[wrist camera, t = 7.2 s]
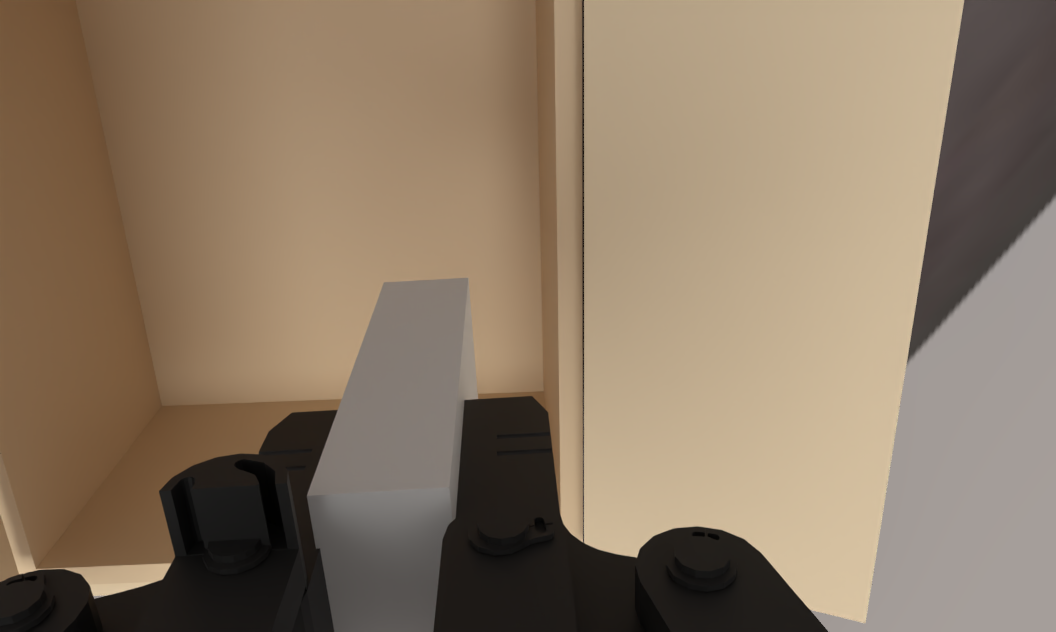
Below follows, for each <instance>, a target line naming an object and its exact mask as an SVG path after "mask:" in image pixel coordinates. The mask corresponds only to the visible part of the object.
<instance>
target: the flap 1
mask: <svg viewBox="0 0 1056 632" xmlns="http://www.w3.org/2000/svg"><path fill="white" fill-rule="evenodd" d="M16 575H19V572H18V569H17V566H16V563H15V559H14V556H13V553H12V550H11V546H10V543H9V540H8V537H7V534H6V530H5V527H4V524H3V521H2V518H1V514H0V582H2V581H4V580H6V579H7V578H10V577H13V576H16Z"/></svg>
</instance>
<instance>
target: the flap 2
mask: <svg viewBox="0 0 1056 632" xmlns="http://www.w3.org/2000/svg"><path fill="white" fill-rule="evenodd" d="M963 4H964V0H584V543H585V544H587V545H589V546H591V547H594V548H596V549H598V550H602V551H606V552H610V553H614V554H619V555H625V556H631V557H637V556H638V553H639V550H640V548H641V547H642V546H643V545H644V544H645V543H646V542H647V541H649V540H650V539H651V538H652V537H653V536H655V535H657V534H660V533H663V532H665V531H668V530H671V529H673V528H683V527H694V526H699V527H706V528H712V529H719V530H723V531H726V532H728V533H731V534H733V535H736V536H738V537H740V538H743V539H745V540H746V541H747V542H748V543H750V544H751V545H752V546H753V547H755V548H756V549H757V550H758V551H760V552H761V553H762V554H763V556H764V557H765V558H766V559H767V560H768V561H769V563H770V564H771V565H772V566H773V567H774V568H775V570H776V571H777V572H778V573H779V574H780V576H781V577H782V578H783V579H784V580H785V581H786V583H787V584H788V585H789V586H790V587H791V588H792V590H793V591H794V592H795V593H796V594H797V595H798V597H799V598H800V599H801V600H802V601H803V603H804V604H805V605H806V606H807V607H808V608H809V610H813V611H818V612H821V613H825V614H829V615H833V616H838V617H842V618H846V619H850V620H854V621H858V622H862V623H865V622H866V616H867V609H868V603H869V597H870V591H871V585H872V578H873V572H874V565H875V559H876V553H877V546H878V540H879V533H880V527H881V521H882V515H883V509H884V502H885V496H886V490H887V483H888V477H889V471H890V465H891V458H892V452H893V446H894V439H895V433H896V427H897V421H898V414H899V407H900V402H901V395H902V389H903V382H904V376H905V370H906V364H907V358H908V351H909V345H910V339H911V332H912V326H913V320H914V313H915V307H916V301H917V294H918V288H919V282H920V276H921V269H922V263H923V257H924V250H925V244H926V238H927V231H928V225H929V219H930V212H931V206H932V200H933V194H934V187H935V181H936V175H937V168H938V162H939V156H940V149H941V143H942V137H943V130H944V124H945V118H946V112H947V105H948V99H949V93H950V86H951V80H952V74H953V67H954V61H955V55H956V48H957V42H958V36H959V30H960V23H961V17H962V11H963Z"/></svg>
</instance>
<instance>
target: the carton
mask: <svg viewBox="0 0 1056 632" xmlns="http://www.w3.org/2000/svg"><path fill="white" fill-rule="evenodd" d="M453 278H469V291H470V303H471V316H472V329H473V341H474V354H475V367H476V379H477V392H478V399H488V398H505V397H522V396H533V397H534V398H535V399H536V400H537V401H538V402H539V403H540V404H541V405H542V406H543V407H544V408H545V410H546V411H547V412H548V415H549V424H550V432H551V441H552V450H553V458H554V466H555V475H556V483H557V492H558V501H559V509H560V515H561V518H562V521H563V524H564V525H565V527H566V528H567V529H568V531H569V532H570V533H571V534H572V535H573V536H575V537H576V538H577V539H579V540H580V541H581V542H583V352H582V0H0V514H1V518H2V521H3V524H4V527H5V530H6V534H7V537H8V540H9V543H10V546H11V550H12V553H13V556H14V559H15V563H16V566H17V569H18V572H19V574H22V573H23V574H25V573H27V572H33V571H37V570H46V569H66V570H69V571H72V572H75V573H79V574H81V575H82V576H83V577H84V578H85V580H86V581H87V582H88V584H89V585H90V587H91V591H92V594H93V596H100V595H112V594H115V593H119V592H123V591H126V590H130V589H134V588H138V587H141V586H144V585H147V584H150V583H153V582H156V581H159V580H162V579H163V578H164V576H165V574H166V573H167V571H168V569H169V567H170V565H171V563H172V562H173V560H174V558H175V554H174V550H173V546H172V542H171V538H170V534H169V530H168V526H167V522H166V518H165V514H164V510H163V506H162V502H161V498H160V494H159V490H160V489H161V488H162V487H163V486H164V485H165V484H166V483H167V482H168V481H169V480H170V479H171V478H172V477H174V476H175V475H177V474H179V473H181V472H182V471H184V470H186V469H187V468H189V467H191V466H193V465H195V464H198V463H201V462H204V461H207V460H210V459H213V458H216V457H221V456H228V455H234V454H240V453H242V454H259V450H260V448H261V446H262V444H263V442H264V440H265V438H266V436H267V434H268V432H269V431H270V430H271V429H272V428H273V427H275V426H276V425H277V424H278V423H280V422H281V421H282V420H283V419H284V418H286V417H287V416H288V415H289V414H291V413H292V412H309V411H326V410H338V408H339V405H340V402H341V400H342V397H343V394H344V391H345V389H346V386H347V383H348V380H349V378H350V375H351V372H352V369H353V367H354V364H355V361H356V358H357V355H358V353H359V350H360V347H361V344H362V342H363V339H364V336H365V333H366V331H367V328H368V325H369V322H370V319H371V317H372V314H373V311H374V308H375V306H376V303H377V300H378V297H379V295H380V292H381V289H382V286H383V284H384V282H400V281H418V280H436V279H453Z"/></svg>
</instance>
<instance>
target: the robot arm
mask: <svg viewBox="0 0 1056 632" xmlns="http://www.w3.org/2000/svg"><path fill="white" fill-rule="evenodd" d="M159 494H160V498H161V502H162V506H163V510H164V514H165V518H166V522H167V526H168V530H169V534H170V538H171V542H172V546H173V550H174V554H175V558H174V560H173V562H172V563H171V565H170V567H169V569H168V571H167V573H166V574H165V576H164V578H163V579H162V580H159V581H156V582H153V583H150V584H147V585H144V586H141V587H138V588H134V589H130V590H126V591H123V592H119V593H115V594H112V595H108V596H104V597H101V598H97V599H94V597H93V594H92V591H91V587H90V585H89V584H88V582H87V581H86V580H85V578H84V577H83V576H82V575H81V574H79V573H75V572H72V571H69V570H66V569H46V570H37V571H33V572H27V573H25V574H23V573H22V574H19V575H16V576H13V577H10V578H7V579H6V580H4V581H2V582H0V632H828V631H827V630H826V629H825V627H824V626H823V625H822V624H821V622H819V620H818V619H817V618H816V617H815V616H814V614H813V613H812V612H811V611H810V610H809V608H808V607H807V606H806V605H805V604H804V603H803V601H802V600H801V599H800V598H799V597H798V595H797V594H796V593H795V592H794V591H793V590H792V588H791V587H790V586H789V585H788V584H787V583H786V581H785V580H784V579H783V578H782V577H781V576H780V574H779V573H778V572H777V571H776V570H775V568H774V567H773V566H772V565H771V564H770V563H769V561H768V560H767V559H766V558H765V557H764V556H763V554H762V553H761V552H760V551H758V550H757V549H756V548H755V547H753V546H752V545H751V544H750V543H748V542H747V541H746V540H745V539H743V538H740V537H738V536H736V535H733V534H731V533H728V532H726V531H723V530H719V529H712V528H706V527H699V526H694V527H683V528H673V529H671V530H668V531H665V532H663V533H660V534H657V535H655V536H653V537H652V538H651V539H650V540H649V541H647V542H646V543H645V544H644V545H643V546H642V547H641V548H640V550H639V553H638V556H637V557H631V556H625V555H619V554H614V553H610V552H606V551H602V550H598V549H596V548H594V547H591V546H589V545H587V544H585V543H583V542H581V541H580V540H579V539H577V538H576V537H575V536H573V535H572V534H571V533H570V532H569V531H568V529H567V528H566V527H565V525H564V524H563V521H562V518H561V515H560V509H559V501H558V492H557V483H556V475H555V466H554V458H553V450H552V441H551V432H550V424H549V415H548V412H547V411H546V410H545V408H544V407H543V406H542V405H541V404H540V403H539V402H538V401H537V400H536V399H535V398H534V397H533V396H522V397H505V398H488V399H478V392H477V379H476V367H475V354H474V341H473V329H472V316H471V303H470V291H469V278H453V279H436V280H418V281H400V282H384V284H383V286H382V289H381V292H380V295H379V297H378V300H377V303H376V306H375V308H374V311H373V314H372V317H371V319H370V322H369V325H368V328H367V331H366V333H365V336H364V339H363V342H362V344H361V347H360V350H359V353H358V355H357V358H356V361H355V364H354V367H353V369H352V372H351V375H350V378H349V380H348V383H347V386H346V389H345V391H344V394H343V397H342V400H341V402H340V405H339V408H338V410H326V411H309V412H292V413H291V414H289V415H288V416H287V417H286V418H284V419H283V420H282V421H281V422H280V423H278V424H277V425H276V426H275V427H273V428H272V429H271V430H270V431H269V432H268V434H267V436H266V438H265V440H264V442H263V444H262V446H261V448H260V450H259V454H242V453H240V454H234V455H228V456H221V457H216V458H213V459H210V460H207V461H204V462H201V463H198V464H195V465H193V466H191V467H189V468H187V469H186V470H184V471H182V472H181V473H179V474H177V475H175V476H174V477H172V478H171V479H170V480H169V481H168V482H167V483H166V484H165V485H164V486H163V487H162V488H161V489H160V490H159Z"/></svg>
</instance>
